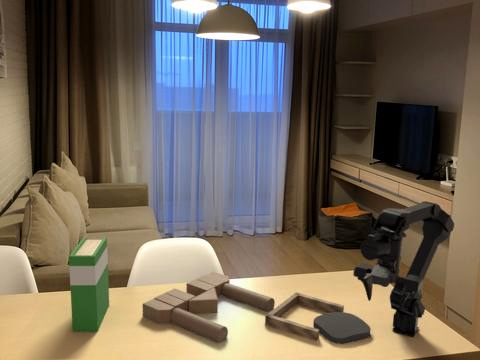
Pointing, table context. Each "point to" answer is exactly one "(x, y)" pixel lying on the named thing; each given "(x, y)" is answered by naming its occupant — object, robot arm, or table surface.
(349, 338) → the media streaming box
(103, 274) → the hardback book
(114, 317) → the table surface
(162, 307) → the wooden block construction
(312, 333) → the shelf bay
